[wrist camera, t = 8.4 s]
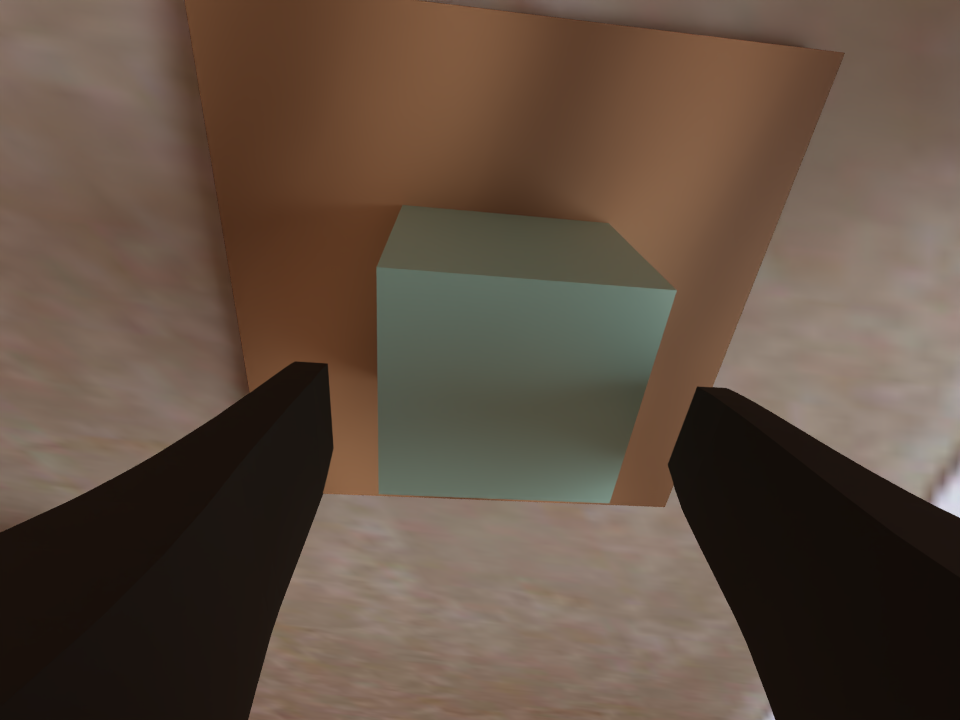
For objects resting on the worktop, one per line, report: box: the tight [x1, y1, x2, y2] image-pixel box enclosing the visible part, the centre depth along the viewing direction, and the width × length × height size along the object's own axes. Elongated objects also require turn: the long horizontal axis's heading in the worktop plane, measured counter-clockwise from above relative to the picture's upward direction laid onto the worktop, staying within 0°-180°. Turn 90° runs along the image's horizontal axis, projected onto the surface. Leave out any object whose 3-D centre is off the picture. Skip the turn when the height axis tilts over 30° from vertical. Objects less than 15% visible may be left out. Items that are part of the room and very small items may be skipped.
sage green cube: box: [376, 205, 677, 503], centre depth 12 cm, size 5×5×4 cm
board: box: [184, 0, 845, 507], centre depth 14 cm, size 14×14×1 cm
